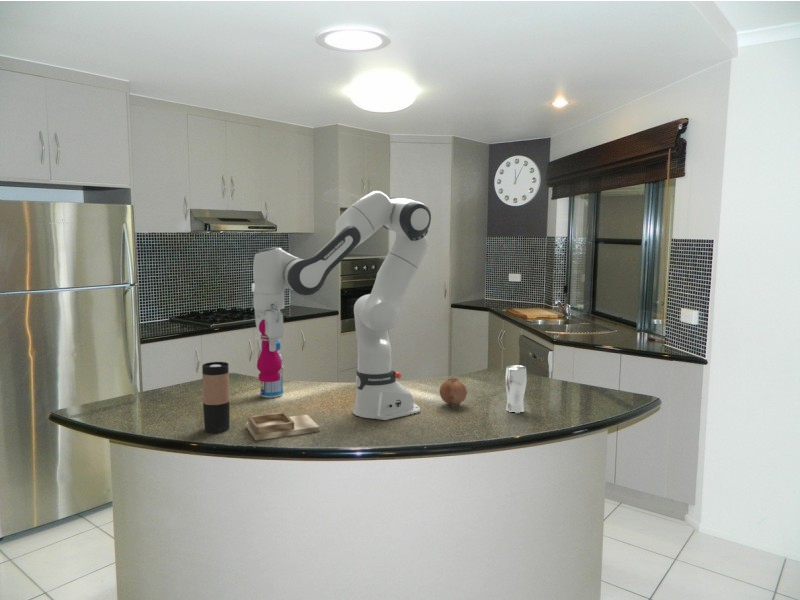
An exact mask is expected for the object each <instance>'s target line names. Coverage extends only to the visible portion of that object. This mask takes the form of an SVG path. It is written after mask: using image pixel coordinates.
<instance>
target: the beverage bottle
mask: <svg viewBox="0 0 800 600" xmlns="http://www.w3.org/2000/svg"><path fill="white" fill-rule="evenodd" d="M261 348H262V343H261ZM276 348H277V352H278V354H279V356H280V358H281V362H282V367H281V369H280V370H279V371H278V372H279V373H280V380H278V381H275V382H262V381H260V393H259V395H260V396H261V397H262V398H268V399H269V398H270V399H271V398H273V397H274V398H278V396H279V397H281V396H283V394H284V384H283V383H284V382H283V379H284V378H283V371H284V365H283V360H284V358H283V356H282V354H281V353H280V351H281V341H280V340H277V343H276ZM260 373H261V372H260V371H259V374H260ZM274 398H273V399H274Z"/></svg>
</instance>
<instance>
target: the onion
mask: <svg viewBox="0 0 800 600" xmlns="http://www.w3.org/2000/svg"><path fill="white" fill-rule="evenodd" d="M467 392H468V391H467V388H466V385H465V384H464V383H463V381H460V380H459V379H458V378H457V377H454V376H453V377H451V378H448V379H446V380H444V381H443V383H442V384H441V385H440V387H439V396H440V398H441V400H442V401H443V402H444V403H445V404H447V405H448V406H452V407H453V405H454V406H457V405H459V404H460V405H461V403H462V402H464V401H466V398H467V395H468V393H467Z"/></svg>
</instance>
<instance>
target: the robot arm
mask: <svg viewBox="0 0 800 600" xmlns="http://www.w3.org/2000/svg"><path fill="white" fill-rule="evenodd" d="M431 221H432V213H431V211H430V208H429V207H428V206H427V205H426V204H424V203H423V202H420V201H419V200H413V199H410V198H397V197H388V195H387V194H385V193H384V192H382V191H379V190H373V191H371V192H368V193H367V194H366V195H364V196H363V197H361V198H359V199H357V200H356V201H355V202H354V203H352V204H351V205H350V206H348V208H346V209H345V210H344V212H342V213H341V215H340V216H339V217H338V218H337V219H336V221H335V225H334V227H335V228H334V230H335V234H334V236H333V237H332V239H330V241H328V243H326V244H325V245H324V246H323V247H322V248H321V249H320V250H319V251H318V252H316V253H315V254H314V255H313V256H311V257H309V258H305V259H302V258H300V257H298V256H295V255H293V254H291V253H289V252H287V251H285V250H284V249H283V248H282V247H278V246H273V247H266V248H262V249H259V250H258V251H256V253H255V255H254V258H253V270H252V271H253V272H252V273H253V274H252V275H253V282H254V289H253V298H252V301H251V302H252V303H251V304H252V307H253V309H254V319H255V321H254V322H255V326H256V329H257V330H258V331H259V323H260V322H261V321H262V320H263V319H264V320H265V321H264V322H265V335H267V336H268V337H269V351H276V343H277V341H278V339H283V338H284V335H285V333H284V316H283V312H282V311H281V310H283V309H285V290H287V289H290V290H292V291H294V292H296V294H299V295H302V296H311V295H314V294H316V293H317V292H319V291H320V290H321V289H322V287H323V285H324V284H325V282H326V280H327V277H328V275H329V274H330V272H332V270H334V269H335V268H336V266H338V264H339V263H340V262H342V260H344V259H345V258H346V257H347V256H348V255H349V254H350V253H351V252H352V251H353V250H355V248H357V247H358V246H360V245H361V244H362V243H364V242H365V241H366V240H368V239H369V238H370V237H372V235H374V234H375V233H376V232H377V231H378V230H379V229H380V228H382V227H383V228H385V229H387V230H389V231H392V232H394V233H395V239H394V242H393V243H394V244H392V246H391V248H390V250H388V251H389V252H388V253H387V255H386V257H385V259H384V261H383V262H382V264H381V266H380V268H379V269H378V271H377V273H376V278H375V281H374V284H373V287H372V289H371V292H370V293H368V294H364V295H362V296H360V297H359V298H358V299H357V300H356V301H355V303H354V305H353V314H354V315H353V316H354V326H355V327H354V328H355V335H356V343H357V370H356V374H355V375H356V377H355V383H356V384H355V385H356V395H355V396H356V397H355V401H354V407H353V410H352V413H353V414H354V416H357V417H360V418H365V419H373V420H374V419H375V420H380V421H381V420H382V421H387V420H388V421H389V420H391V419H396V418H397V419H398V418H400V417H406V416H409V415H410V414H411V415H414V413H415V414H418V412H419V413H420V412H421V407H420V406H419V405H417V403H415V402H414V398H413V394H412V392H411V391H410V390H409V389H407V387H405V386H404V385H402V384H401V383H400V382H399V381H397V379H399V380H400V379H401V378H402V377H403V374H402V372H399V371H395V370H392V346H391V341H390V336H389V331H391V330H392V329H393V328H395V325H396V324H397V322H398V315H399V312H400V309H401V306H402V304H403V302H404V301H403V300H404V298H405V295H406V293H407V290H408V289H409V287H410V284H411V282H412V280H413V279H414V277H415V275H416V273H417V271H418V270H419V267H420V265H421V263H422V262H423V259H424V257H425V254H426V252H427V247H429V246H428V244H429V241H428V239H427V237H426V235H428V232H429V228H430V226H431Z"/></svg>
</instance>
